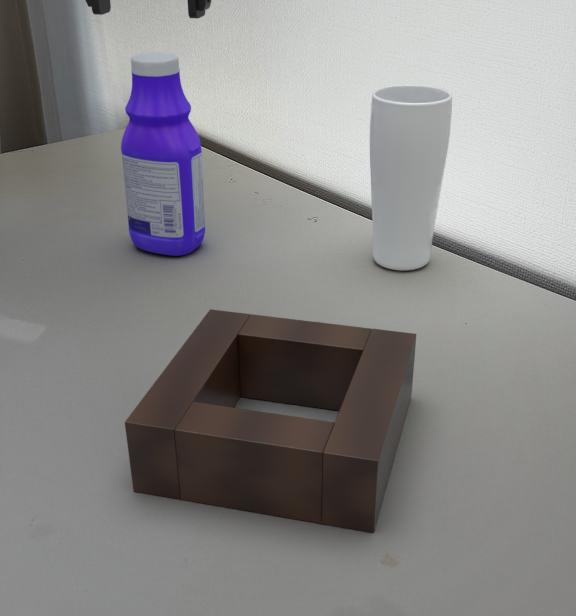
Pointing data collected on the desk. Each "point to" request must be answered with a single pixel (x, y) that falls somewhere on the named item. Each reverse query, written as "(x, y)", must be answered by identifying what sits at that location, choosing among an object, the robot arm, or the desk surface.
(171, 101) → the bottle
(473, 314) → the desk surface
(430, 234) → the drinking glass
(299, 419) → the frame
